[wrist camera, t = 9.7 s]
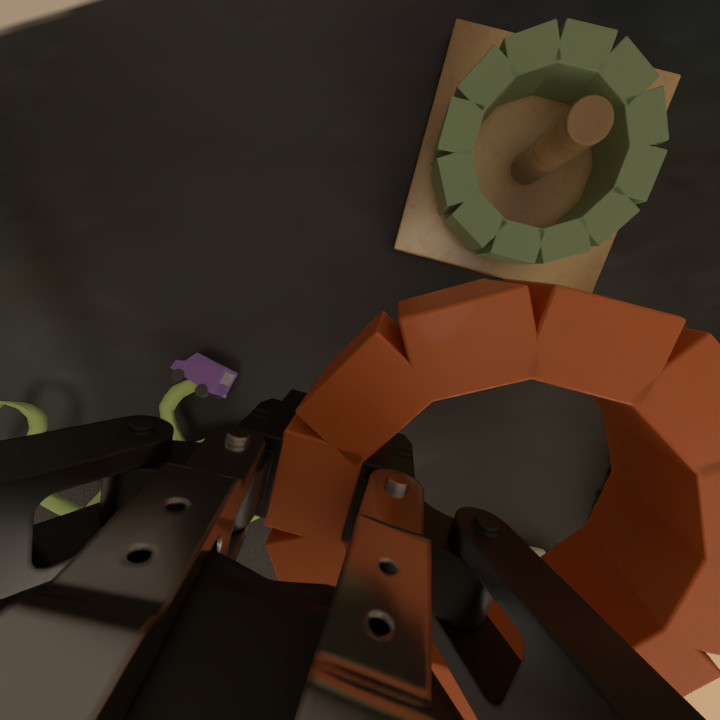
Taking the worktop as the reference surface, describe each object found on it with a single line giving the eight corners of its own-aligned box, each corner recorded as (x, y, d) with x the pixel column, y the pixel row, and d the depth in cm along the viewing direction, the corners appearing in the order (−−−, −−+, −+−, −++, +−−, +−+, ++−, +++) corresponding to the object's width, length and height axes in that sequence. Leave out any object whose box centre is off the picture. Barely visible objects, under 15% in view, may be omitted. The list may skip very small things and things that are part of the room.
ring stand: (393, 249, 29) (392, 240, 19) (452, 31, 25) (488, -117, 15) (579, 299, 28) (675, 316, 18) (665, 85, 25) (839, -32, 15)
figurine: (-6, 394, 34) (-81, 418, 29) (275, 324, 31) (248, 337, 25) (76, 568, 38) (24, 618, 33) (335, 525, 34) (324, 574, 29)
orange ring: (274, 559, 15) (231, 664, 11) (351, 237, 12) (329, 224, 8) (585, 648, 14) (656, 791, 10) (746, 341, 11) (928, 381, 7)
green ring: (411, 237, 27) (413, 232, 23) (465, 39, 24) (478, -5, 20) (580, 282, 26) (612, 284, 23) (657, 87, 24) (709, 51, 20)
